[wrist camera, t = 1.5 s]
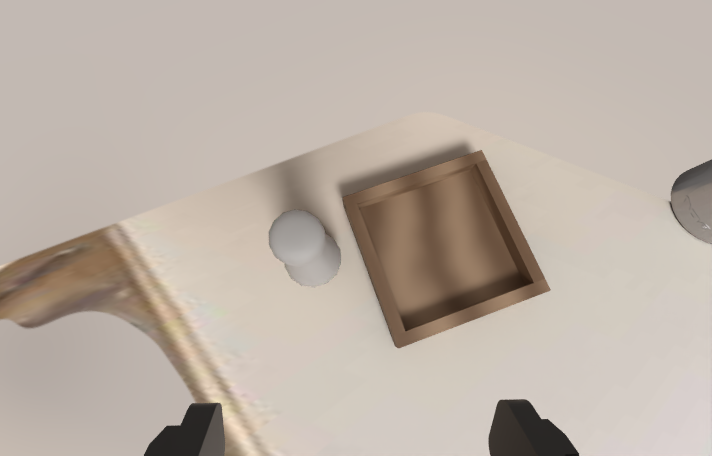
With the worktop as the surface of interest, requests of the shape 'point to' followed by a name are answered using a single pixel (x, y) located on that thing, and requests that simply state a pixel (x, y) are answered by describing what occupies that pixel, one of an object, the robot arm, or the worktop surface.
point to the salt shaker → (304, 248)
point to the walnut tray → (442, 248)
